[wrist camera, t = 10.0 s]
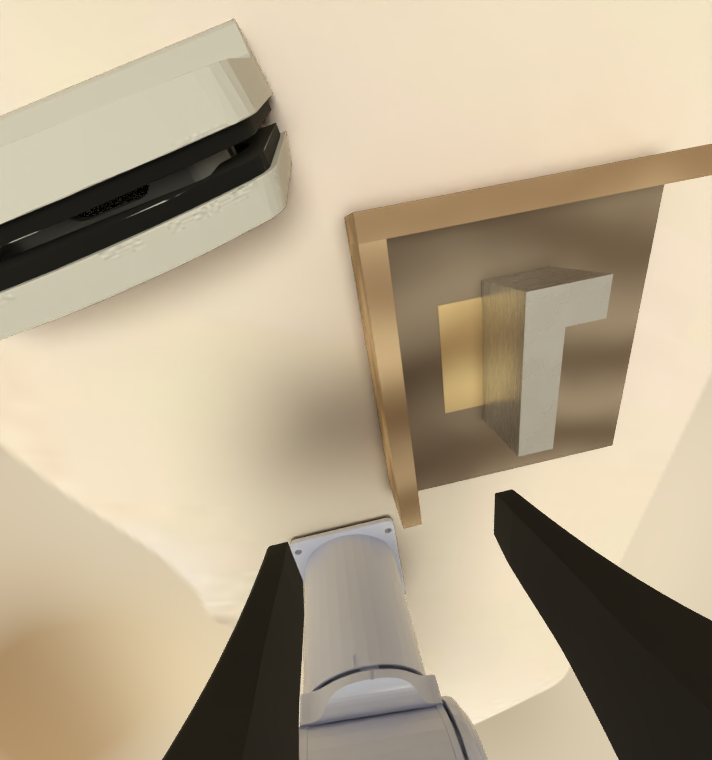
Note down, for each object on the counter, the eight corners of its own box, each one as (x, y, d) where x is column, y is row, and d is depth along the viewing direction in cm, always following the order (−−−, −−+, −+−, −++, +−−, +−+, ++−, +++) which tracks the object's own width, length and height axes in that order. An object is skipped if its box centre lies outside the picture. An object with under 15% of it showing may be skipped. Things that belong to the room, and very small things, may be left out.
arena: (603, 439, 25) (612, 445, 24) (406, 485, 24) (409, 493, 23) (650, 183, 18) (665, 181, 17) (371, 238, 17) (374, 238, 16)
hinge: (245, 19, 13) (240, -52, 6) (293, 155, 16) (327, 215, 9) (-129, 175, 13) (-558, 285, 6) (-8, 276, 17) (-197, 423, 10)
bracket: (481, 280, 18) (526, 292, 14) (551, 266, 18) (613, 273, 14) (482, 419, 21) (518, 456, 18) (540, 406, 22) (586, 440, 18)
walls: (603, 439, 25) (648, 470, 21) (390, 488, 24) (403, 528, 21) (654, 157, 17) (736, 139, 14) (344, 217, 16) (353, 212, 13)
